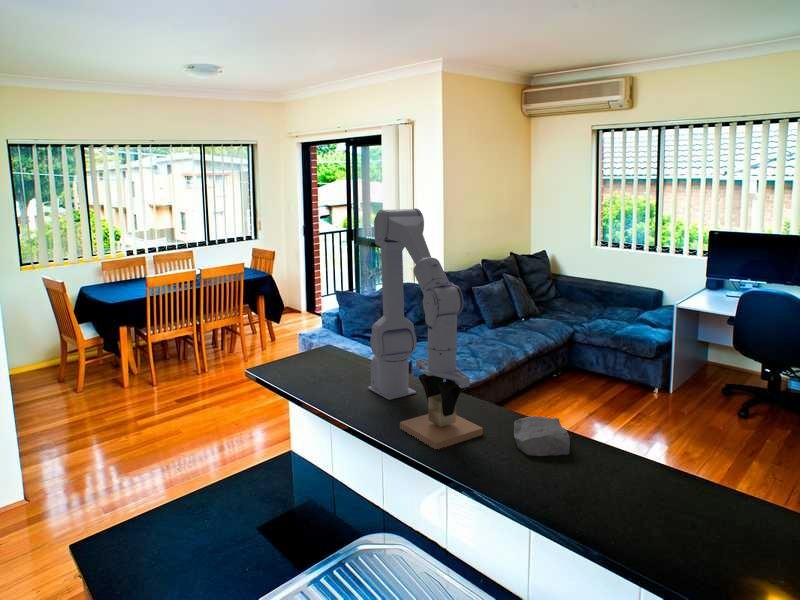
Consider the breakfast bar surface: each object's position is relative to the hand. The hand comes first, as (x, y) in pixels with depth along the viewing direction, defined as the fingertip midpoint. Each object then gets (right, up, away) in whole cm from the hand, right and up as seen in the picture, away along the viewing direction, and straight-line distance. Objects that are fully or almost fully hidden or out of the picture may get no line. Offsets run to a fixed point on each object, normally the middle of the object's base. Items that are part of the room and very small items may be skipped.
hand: (441, 411), depth 122 cm
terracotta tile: (0, -5, +1) cm, 5 cm away
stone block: (+19, -6, -4) cm, 20 cm away
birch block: (0, -2, +1) cm, 2 cm away
